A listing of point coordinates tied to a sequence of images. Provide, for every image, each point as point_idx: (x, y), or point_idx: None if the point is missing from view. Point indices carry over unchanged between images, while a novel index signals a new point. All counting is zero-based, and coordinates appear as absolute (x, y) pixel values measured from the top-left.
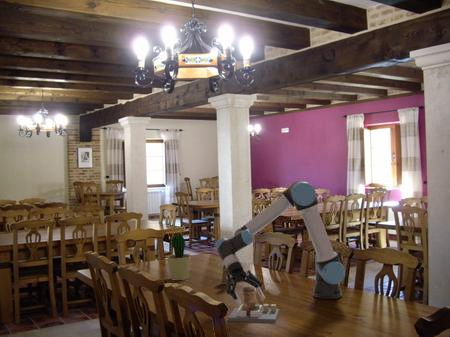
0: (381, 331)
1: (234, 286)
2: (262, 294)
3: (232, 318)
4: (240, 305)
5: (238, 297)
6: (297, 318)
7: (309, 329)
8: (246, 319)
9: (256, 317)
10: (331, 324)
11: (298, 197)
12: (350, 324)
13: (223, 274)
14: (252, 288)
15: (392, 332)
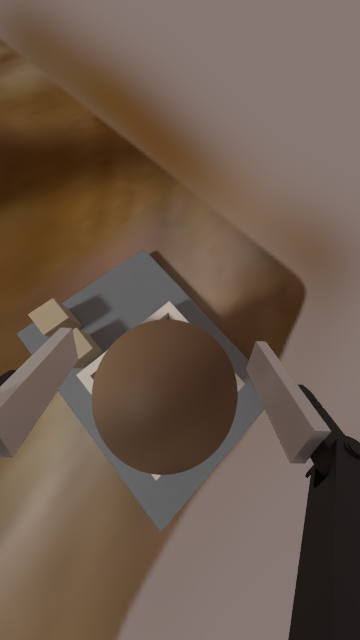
0: (12, 55)
1: (358, 525)
2: (54, 345)
3: None
4: (249, 362)
5: (285, 373)
6: (55, 234)
7: (119, 158)
8: (220, 332)
9: (182, 312)
10: (39, 140)
11: None
12: (6, 111)
13: None
14: (145, 346)
15: (3, 41)
